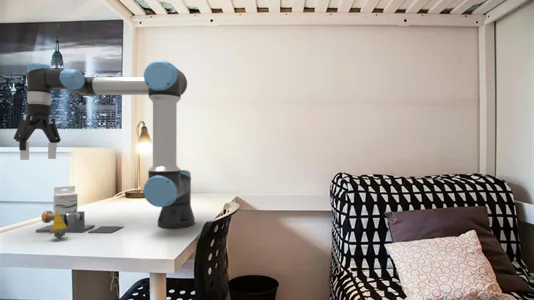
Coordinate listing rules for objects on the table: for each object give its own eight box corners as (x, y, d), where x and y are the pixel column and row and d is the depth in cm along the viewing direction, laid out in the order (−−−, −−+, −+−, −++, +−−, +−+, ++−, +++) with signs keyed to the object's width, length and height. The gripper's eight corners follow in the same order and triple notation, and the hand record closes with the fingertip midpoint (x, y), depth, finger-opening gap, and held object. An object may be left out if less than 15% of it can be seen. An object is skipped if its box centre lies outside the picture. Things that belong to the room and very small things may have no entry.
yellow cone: (60, 240, 104) (56, 211, 104) (47, 242, 105) (43, 213, 105) (73, 236, 109) (69, 208, 109) (60, 238, 110) (57, 210, 110)
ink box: (55, 222, 134) (55, 188, 134) (53, 220, 137) (53, 187, 137) (77, 218, 139) (77, 186, 140) (75, 217, 143) (75, 185, 143)
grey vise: (94, 227, 124) (95, 211, 124) (82, 232, 116) (82, 215, 116) (51, 227, 124) (51, 210, 124) (35, 232, 116) (36, 215, 116)
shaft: (82, 221, 122) (82, 210, 122) (75, 224, 117) (75, 212, 118) (50, 221, 122) (50, 209, 123) (41, 224, 118) (41, 212, 118)
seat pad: (123, 227, 124) (123, 226, 124) (111, 233, 115) (111, 232, 115) (101, 227, 124) (101, 226, 124) (88, 233, 115) (88, 232, 115)
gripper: (53, 108, 131) (53, 158, 131) (0, 98, 106) (0, 160, 106) (70, 108, 130) (70, 158, 130) (21, 98, 106) (21, 160, 105)
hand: (39, 159), depth 118 cm, fingers open, 13 cm apart
